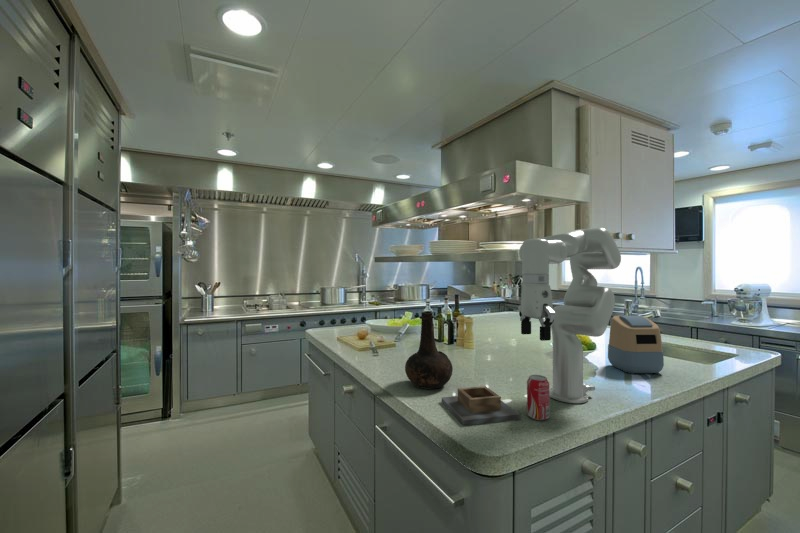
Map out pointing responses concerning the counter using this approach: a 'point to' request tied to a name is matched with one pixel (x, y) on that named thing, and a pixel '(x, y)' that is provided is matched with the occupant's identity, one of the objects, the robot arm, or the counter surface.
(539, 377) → the beverage can
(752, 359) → the counter surface
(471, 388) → the can holder
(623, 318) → the tan and blue appliance
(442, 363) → the dark brown vase
